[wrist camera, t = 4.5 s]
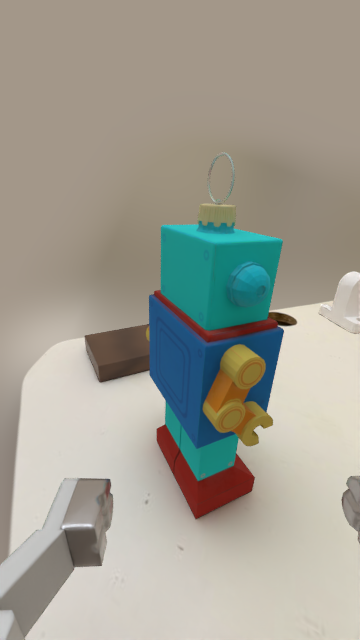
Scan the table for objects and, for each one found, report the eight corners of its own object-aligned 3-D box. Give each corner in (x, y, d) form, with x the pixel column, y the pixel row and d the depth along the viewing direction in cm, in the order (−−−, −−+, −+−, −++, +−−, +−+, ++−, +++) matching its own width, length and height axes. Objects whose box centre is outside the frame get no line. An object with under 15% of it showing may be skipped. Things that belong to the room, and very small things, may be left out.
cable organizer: (352, 333, 53) (369, 281, 48) (317, 312, 61) (329, 267, 57) (375, 331, 54) (394, 280, 50) (337, 311, 63) (351, 266, 58)
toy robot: (265, 510, 23) (361, 148, 12) (199, 546, 20) (248, 130, 10) (196, 414, 32) (216, 163, 22) (145, 431, 30) (140, 156, 19)
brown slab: (99, 382, 37) (98, 366, 36) (86, 349, 44) (84, 335, 43) (245, 345, 47) (247, 332, 46) (215, 323, 54) (216, 311, 53)
